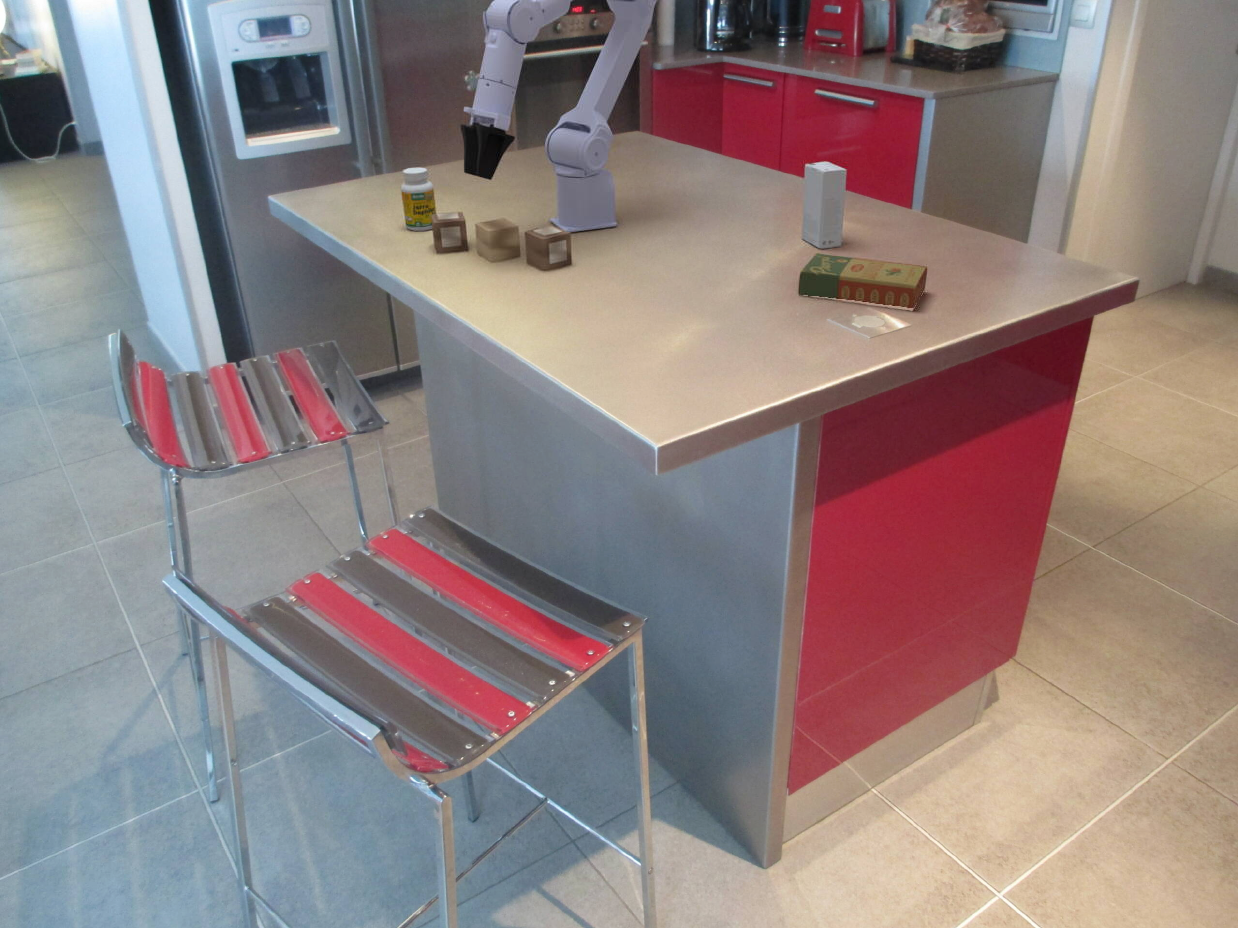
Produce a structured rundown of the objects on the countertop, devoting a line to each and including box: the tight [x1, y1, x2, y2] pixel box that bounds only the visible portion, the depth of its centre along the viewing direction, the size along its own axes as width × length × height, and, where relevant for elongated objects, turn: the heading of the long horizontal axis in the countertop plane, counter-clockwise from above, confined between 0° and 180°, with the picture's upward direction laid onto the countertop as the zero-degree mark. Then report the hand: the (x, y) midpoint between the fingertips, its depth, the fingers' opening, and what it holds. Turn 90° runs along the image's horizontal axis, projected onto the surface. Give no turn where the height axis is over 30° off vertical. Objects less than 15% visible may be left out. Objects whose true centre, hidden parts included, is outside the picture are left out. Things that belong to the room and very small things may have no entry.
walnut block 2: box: [524, 224, 573, 272], centre depth 149 cm, size 5×5×5 cm
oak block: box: [474, 217, 521, 264], centre depth 153 cm, size 5×5×5 cm
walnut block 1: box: [431, 211, 469, 254], centre depth 157 cm, size 5×5×5 cm
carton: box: [797, 252, 928, 308], centre depth 137 cm, size 8×16×4 cm, turn 65°
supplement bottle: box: [400, 167, 437, 232], centre depth 166 cm, size 5×5×10 cm
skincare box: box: [801, 161, 848, 250], centre depth 155 cm, size 6×4×12 cm
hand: (477, 176), depth 149 cm, fingers open, 7 cm apart
